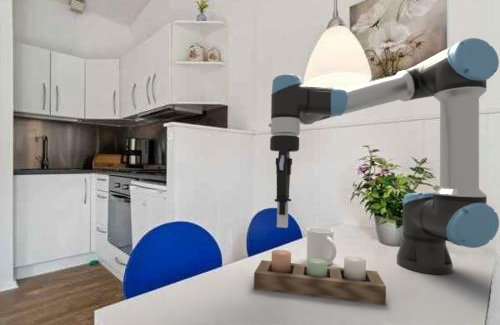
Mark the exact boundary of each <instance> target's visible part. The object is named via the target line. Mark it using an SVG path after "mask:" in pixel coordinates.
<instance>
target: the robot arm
mask: <svg viewBox="0 0 500 325" xmlns="http://www.w3.org/2000/svg"><path fill="white" fill-rule="evenodd" d="M499 65H500V61H499V56H498V54H497V51H496V49H495V48H494V47H493V46H492V45H491V44H490V43H489V42H487V41H486V40H484V39H481V38H476V37H475V38H474V37H469V38H465V39H462V40H461V41H460V40H459V42H456V43H455V42H454V43H452V44H451V45H450V46H449V47H447V48H445V49H444V50H442V51H440V52H438V53H436V54H434V55H432V56H430V57H429V58H427V59H425V60H424V61H422V62H420V63H418V64H416V65H414V66H412V67H409V68H408V69H404V70H401V71H398V72H396V75H394V76H391V77H386V78H383V79H378V80H375V81H371V82H367V83H363V84H358V85H355V86H350V87H347V88H344V87H339V86H334V85H333V86H332V85H331V86H327V85H325V86H324V85H305V84H302V79H301V77H300V76H299V75H297V74H295V75H294V74H291V73H283V74H279V75H277V76H275V77H274V78H273V80H272V84H271V85H272V86H271V95H270V97H271V100H270V101H271V102H270V104H271V107H270V108H271V109H270V121H271V122H270V123H268V128H270V134H271V135H272V136H271V137H270V138H269V139H270V140H269V149H270V151H271V152H278V156H277V157H276V158H275V166H276V168H275V169H276V171H275V172H276V196H275V199H274V202H277V203H276V204H277V206H276V209H277V210H276V228H282V229H284V228H285V229H287V228H288V227H289V202H292V198H290V182H291V174H292V165H293V158H292V157H290V156H291V155H290V153H291V152H293V153H294V152H298V151H300V137H299V135H300V133H301V132H300V131H301V130H300V129H301V124H302V125H312V124H314V123H315V122H316V123H317V122H319V121H324V120H326V119H330V118H334V117H340V116H342V115H345V114H350V113H353V112H357V111H361V110H365V109H369V108H373V107H376V106H381V105H384V104H388V103H392V102H396V101H402V102H408V101H413V100H417V99H424V98H430V97H433V98H435V100H437V101H438V102H439V103H440V104H439V143H440V144H439V187H438V188H437V189H436V190H435V191H434V192H413V193H412V192H411V193H406V194H405V195H404V197H403V200H402V201H403V202H402V207H403V208H402V209H403V210H402V212H403V213H402V241H401V243H400V245H399V249H398V251H397V253H396V264H398V265H399V266H401V267H403V268H406V269H409V270H411V271H414V272H420V273H425V274H430V275H431V274H432V275H448V274H452V273H453V268H454V267H453V266H454V263H453V260H452V257H451V255H450V252H449V249H448V247H447V242H449V243H451V244H453V245H456V246H460V247H466V248H468V249H469V248H471V249H473V248H474V249H475V248H481V247H483V246H486V245H487V244H488V243H490V241H492V240H493V239H494V238H495V237H496V235H497V233H498V231H499V228H500V227H499V226H500V219H499V216H498V215H499V214H498V213H497V212H495V209H494V208H493V207H492V206H491V205H488V204H487V203H488V202H487V194H485V192H483V191H482V190H481V189H480V98H481V97H482V96H483V95H484V94H486V92H487V80H489V79H490V78H491V77H493V76H494V74H495V73H497V71H498V68H499Z"/></svg>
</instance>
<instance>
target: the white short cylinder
mask: <svg viewBox="0 0 500 325" xmlns="http://www.w3.org/2000/svg"><path fill="white" fill-rule="evenodd" d="M343 268H344V277H345V278H346V279H348V280H355V281H365V280H366V270H367V260H366V259H365V258H363V257H360V256H353V255H348V256H344V257H343Z"/></svg>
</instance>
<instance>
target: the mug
mask: <svg viewBox="0 0 500 325" xmlns="http://www.w3.org/2000/svg"><path fill="white" fill-rule="evenodd" d="M306 231H307V232H306V261H307V260H308V259H311V258H317V259H323V260H325V261H327V266H330V265H332V264H333V263H334V260H335V258H336V256H337V247H336V244H335V242H334V230H333V229H331V228H328V227H318V226H315V227H314V226H313V227H308V228H307V229H306Z"/></svg>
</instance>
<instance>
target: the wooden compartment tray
mask: <svg viewBox="0 0 500 325" xmlns="http://www.w3.org/2000/svg"><path fill="white" fill-rule="evenodd" d="M271 262H272V260H264V259H263V260H261V261H260V263H259V264H258V265H257V267H256V269H255V271H254V272H253V276H254V277H253V289H254V290H259V291H265V292H267V291H268V292H275V293H276V292H277V293H284V294H291V295H293V294H294V295H299V296H302V295H303V296H311V297H318V298H326V299H332V300H333V299H334V300H343V301H349V302H360V303H367V304H376V305H383V306H384V305H385V306H386V305H387V286H386V284H385V282H384V280H382V278H381V276H380V274H379V273H378V270H367V269H366V280H365V281H355V280H348V279H346V278H345V277H344V267H337V266H336V267H335V266H327V278H326V277H317V276H307V263H305V264H304V263H297V262H296V263H294V262H291V271H290V272H289V273H279V272H273V271H272V270H271Z"/></svg>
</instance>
